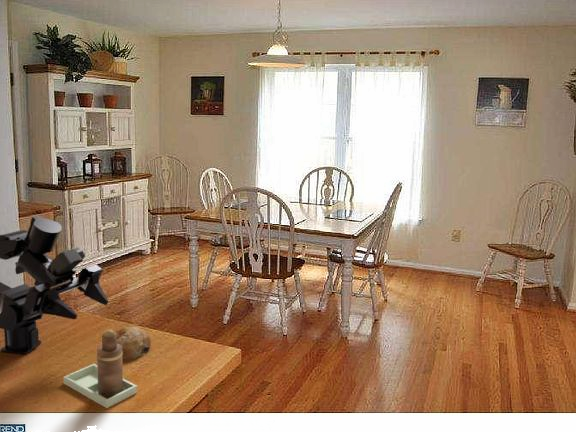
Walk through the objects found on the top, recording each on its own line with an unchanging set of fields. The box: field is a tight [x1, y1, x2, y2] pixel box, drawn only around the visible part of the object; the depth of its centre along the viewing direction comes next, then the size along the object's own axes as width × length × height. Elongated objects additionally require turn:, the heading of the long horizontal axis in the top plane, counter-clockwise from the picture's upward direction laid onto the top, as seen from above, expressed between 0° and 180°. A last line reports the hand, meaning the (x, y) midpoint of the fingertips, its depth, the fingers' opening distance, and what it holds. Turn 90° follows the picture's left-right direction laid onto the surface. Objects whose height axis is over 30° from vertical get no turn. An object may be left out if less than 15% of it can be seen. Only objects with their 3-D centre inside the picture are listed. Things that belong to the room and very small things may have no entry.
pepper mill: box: [96, 328, 124, 399], centre depth 106 cm, size 5×5×14 cm
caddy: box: [63, 363, 138, 409], centre depth 109 cm, size 14×7×2 cm, turn 55°
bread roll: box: [114, 326, 152, 360], centre depth 126 cm, size 10×10×8 cm
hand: (92, 310), depth 114 cm, fingers open, 9 cm apart
